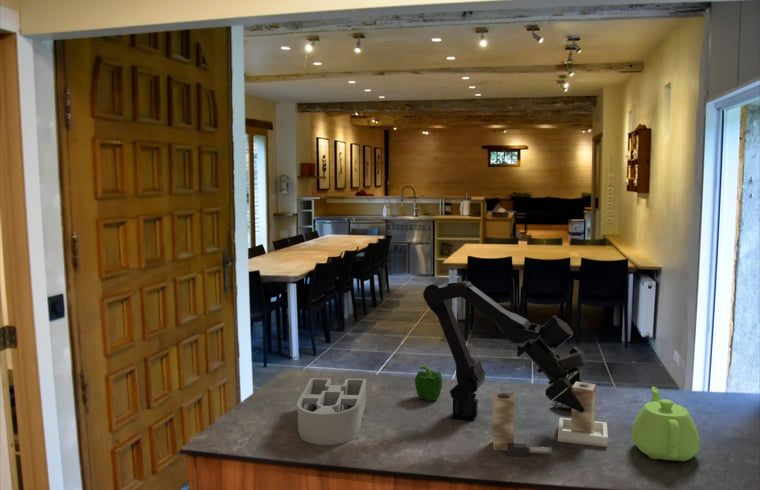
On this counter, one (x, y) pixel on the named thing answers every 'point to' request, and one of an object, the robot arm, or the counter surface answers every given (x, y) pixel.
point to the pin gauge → (525, 449)
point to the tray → (583, 434)
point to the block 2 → (587, 399)
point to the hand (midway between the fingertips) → (586, 405)
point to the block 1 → (503, 420)
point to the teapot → (665, 430)
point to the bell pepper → (428, 384)
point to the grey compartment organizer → (331, 411)
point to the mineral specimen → (559, 404)
